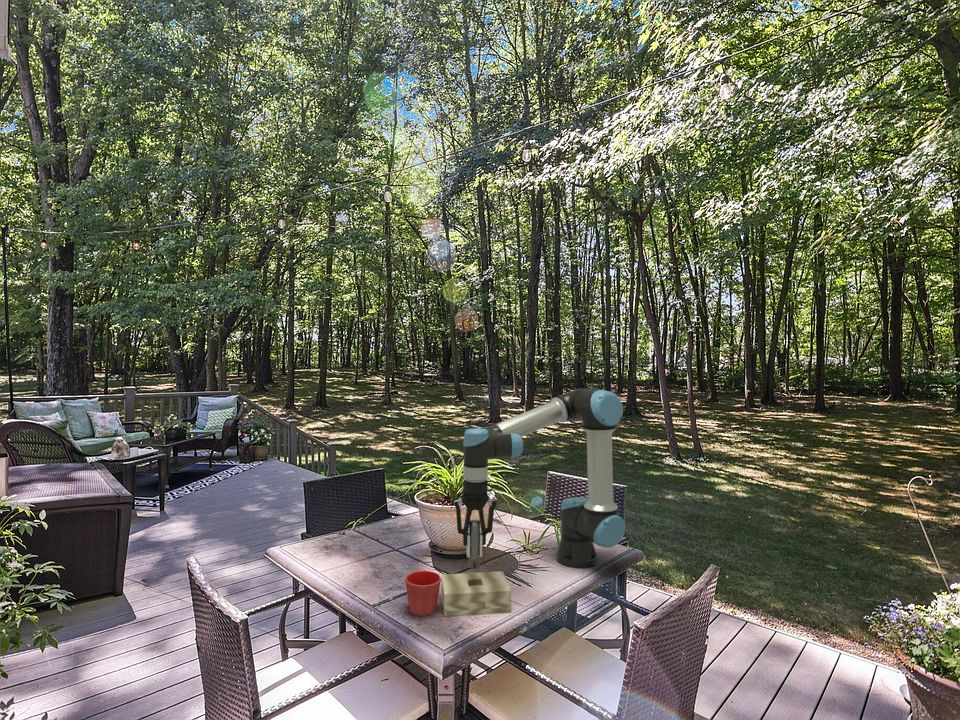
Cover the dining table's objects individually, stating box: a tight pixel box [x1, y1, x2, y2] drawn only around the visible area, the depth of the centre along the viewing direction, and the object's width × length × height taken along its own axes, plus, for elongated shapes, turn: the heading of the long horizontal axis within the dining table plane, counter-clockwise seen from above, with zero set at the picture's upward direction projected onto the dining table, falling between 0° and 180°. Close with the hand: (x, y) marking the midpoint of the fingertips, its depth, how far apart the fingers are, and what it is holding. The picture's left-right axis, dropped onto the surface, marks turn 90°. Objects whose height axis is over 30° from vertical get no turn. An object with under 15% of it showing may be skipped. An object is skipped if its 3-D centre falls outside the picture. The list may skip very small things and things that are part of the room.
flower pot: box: [405, 570, 441, 616], centre depth 158 cm, size 11×11×10 cm
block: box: [440, 570, 512, 617], centre depth 162 cm, size 20×14×6 cm
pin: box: [468, 519, 481, 570], centre depth 162 cm, size 3×3×14 cm
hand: (474, 555), depth 162 cm, fingers closed on pin, 3 cm apart
